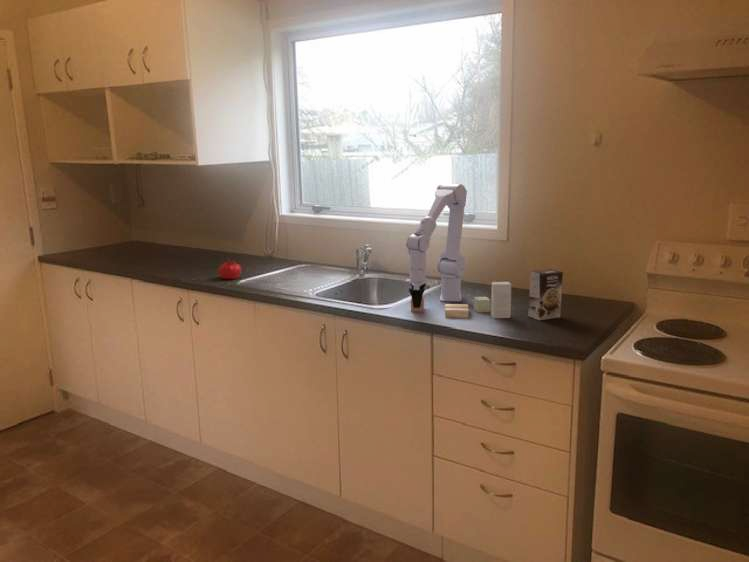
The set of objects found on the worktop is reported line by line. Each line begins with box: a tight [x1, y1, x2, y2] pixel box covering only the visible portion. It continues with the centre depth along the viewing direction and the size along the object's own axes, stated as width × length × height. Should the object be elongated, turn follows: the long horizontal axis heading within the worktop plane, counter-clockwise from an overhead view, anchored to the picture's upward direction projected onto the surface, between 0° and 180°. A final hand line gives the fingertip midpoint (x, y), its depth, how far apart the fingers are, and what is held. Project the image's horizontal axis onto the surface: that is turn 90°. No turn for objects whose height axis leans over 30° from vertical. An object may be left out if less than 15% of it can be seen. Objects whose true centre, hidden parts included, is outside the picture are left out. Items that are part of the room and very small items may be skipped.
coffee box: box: [527, 268, 564, 321], centre depth 212 cm, size 9×6×16 cm
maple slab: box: [444, 303, 469, 319], centre depth 218 cm, size 8×8×3 cm
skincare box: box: [490, 281, 512, 319], centre depth 213 cm, size 6×4×12 cm
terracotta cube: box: [410, 295, 425, 313], centre depth 224 cm, size 4×4×4 cm
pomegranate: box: [218, 257, 242, 280], centre depth 279 cm, size 10×10×9 cm
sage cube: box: [473, 296, 491, 313], centre depth 222 cm, size 4×4×4 cm
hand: (417, 304), depth 224 cm, fingers open, 7 cm apart
